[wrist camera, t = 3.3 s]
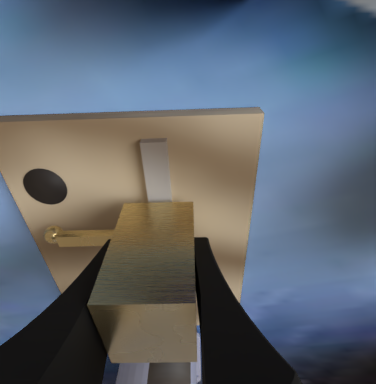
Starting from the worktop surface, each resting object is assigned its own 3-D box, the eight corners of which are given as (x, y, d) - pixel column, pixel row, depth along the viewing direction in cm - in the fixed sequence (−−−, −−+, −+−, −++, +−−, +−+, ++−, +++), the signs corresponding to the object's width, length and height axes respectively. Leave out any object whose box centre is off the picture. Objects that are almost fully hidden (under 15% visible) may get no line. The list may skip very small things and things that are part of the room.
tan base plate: (235, 312, 21) (249, 400, 16) (82, 315, 22) (50, 402, 17) (259, 107, 12) (308, 165, 7) (-10, 116, 12) (-145, 178, 7)
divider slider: (194, 250, 15) (197, 362, 10) (60, 253, 16) (-3, 364, 11) (193, 196, 13) (195, 303, 8) (36, 200, 13) (-57, 307, 8)
